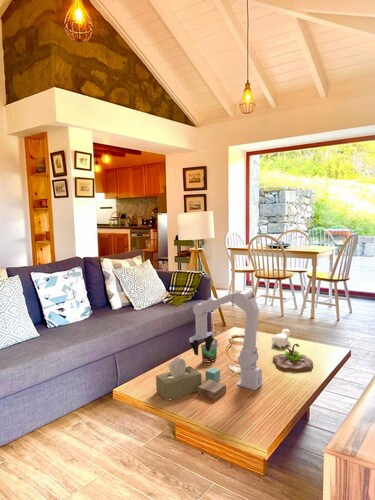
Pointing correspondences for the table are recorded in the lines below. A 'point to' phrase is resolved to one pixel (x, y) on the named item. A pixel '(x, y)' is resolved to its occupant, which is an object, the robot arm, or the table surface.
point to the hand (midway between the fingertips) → (202, 352)
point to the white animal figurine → (281, 339)
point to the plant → (292, 361)
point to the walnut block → (212, 389)
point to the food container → (212, 353)
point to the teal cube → (212, 374)
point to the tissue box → (178, 380)
